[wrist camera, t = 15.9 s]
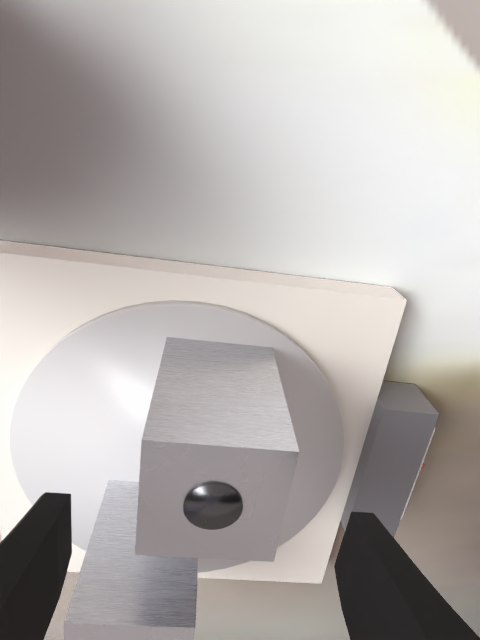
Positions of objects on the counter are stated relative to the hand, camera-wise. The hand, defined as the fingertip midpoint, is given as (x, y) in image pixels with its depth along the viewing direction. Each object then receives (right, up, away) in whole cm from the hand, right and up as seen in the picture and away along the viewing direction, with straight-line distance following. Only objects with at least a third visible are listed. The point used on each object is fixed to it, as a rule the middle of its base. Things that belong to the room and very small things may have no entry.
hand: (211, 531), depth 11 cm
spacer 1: (-3, -4, +9) cm, 10 cm away
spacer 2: (0, +3, +6) cm, 7 cm away
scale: (-1, 0, +9) cm, 9 cm away
